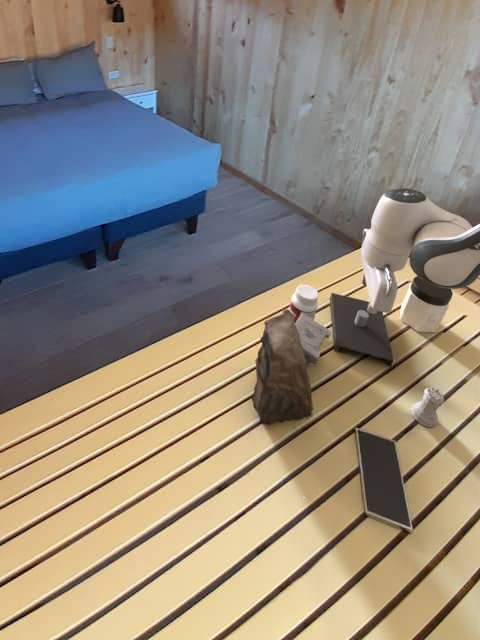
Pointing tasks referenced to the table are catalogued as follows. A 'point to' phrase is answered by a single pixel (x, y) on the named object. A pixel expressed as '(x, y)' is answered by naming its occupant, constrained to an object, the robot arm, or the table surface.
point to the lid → (359, 328)
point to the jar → (424, 306)
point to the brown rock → (282, 373)
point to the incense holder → (311, 337)
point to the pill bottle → (304, 302)
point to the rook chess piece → (428, 407)
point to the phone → (382, 480)
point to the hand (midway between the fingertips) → (368, 296)
